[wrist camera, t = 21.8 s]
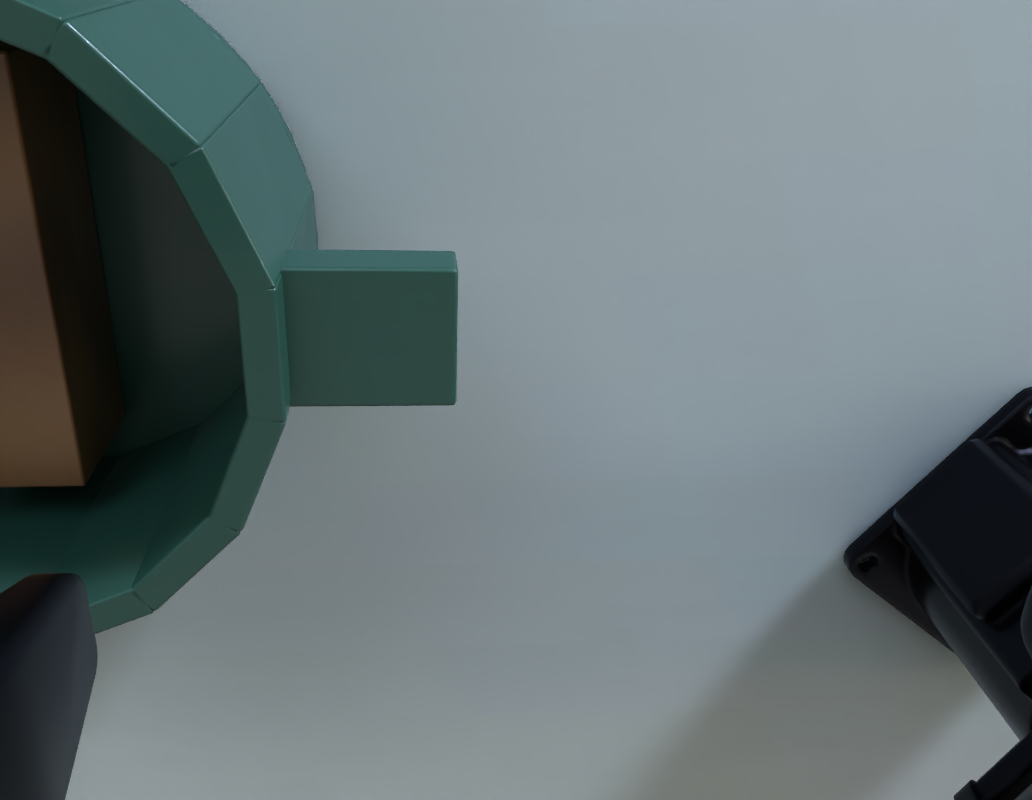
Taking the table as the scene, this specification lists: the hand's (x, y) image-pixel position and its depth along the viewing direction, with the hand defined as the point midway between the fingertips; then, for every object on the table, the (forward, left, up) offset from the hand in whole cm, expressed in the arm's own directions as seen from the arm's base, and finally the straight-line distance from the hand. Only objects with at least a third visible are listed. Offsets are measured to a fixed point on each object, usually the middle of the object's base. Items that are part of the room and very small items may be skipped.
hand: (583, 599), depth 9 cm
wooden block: (+7, +6, -13) cm, 16 cm away
